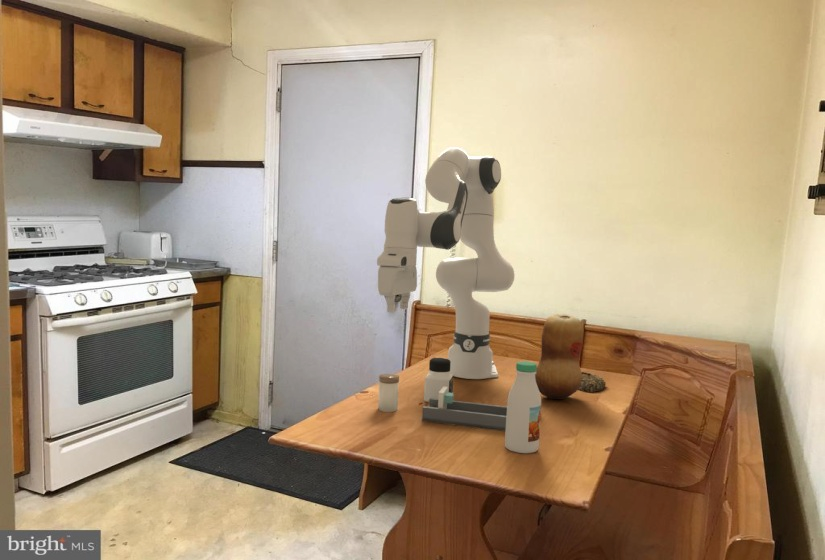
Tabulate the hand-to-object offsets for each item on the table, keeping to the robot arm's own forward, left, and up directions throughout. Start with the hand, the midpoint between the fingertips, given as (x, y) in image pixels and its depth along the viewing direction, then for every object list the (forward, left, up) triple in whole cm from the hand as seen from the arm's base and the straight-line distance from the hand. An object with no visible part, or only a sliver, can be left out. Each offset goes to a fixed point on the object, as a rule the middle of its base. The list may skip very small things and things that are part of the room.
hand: (397, 310), depth 171 cm
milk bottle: (+18, +36, -27) cm, 48 cm away
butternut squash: (-28, +43, -27) cm, 58 cm away
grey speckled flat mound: (-46, +51, -27) cm, 73 cm away
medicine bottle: (-13, +10, -27) cm, 31 cm away
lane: (+3, +22, -27) cm, 35 cm away
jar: (+1, -1, -27) cm, 27 cm away
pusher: (+3, +15, -26) cm, 30 cm away
